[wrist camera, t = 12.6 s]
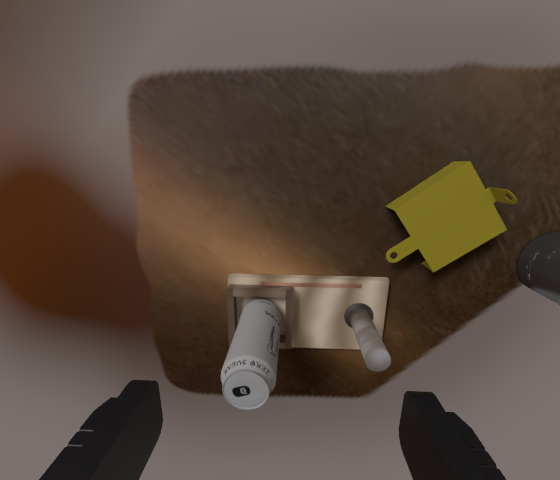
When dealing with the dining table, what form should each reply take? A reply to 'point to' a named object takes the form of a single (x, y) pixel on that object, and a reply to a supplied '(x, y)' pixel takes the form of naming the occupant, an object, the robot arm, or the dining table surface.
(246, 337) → the energy drink can
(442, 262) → the bracket
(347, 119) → the dining table surface
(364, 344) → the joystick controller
